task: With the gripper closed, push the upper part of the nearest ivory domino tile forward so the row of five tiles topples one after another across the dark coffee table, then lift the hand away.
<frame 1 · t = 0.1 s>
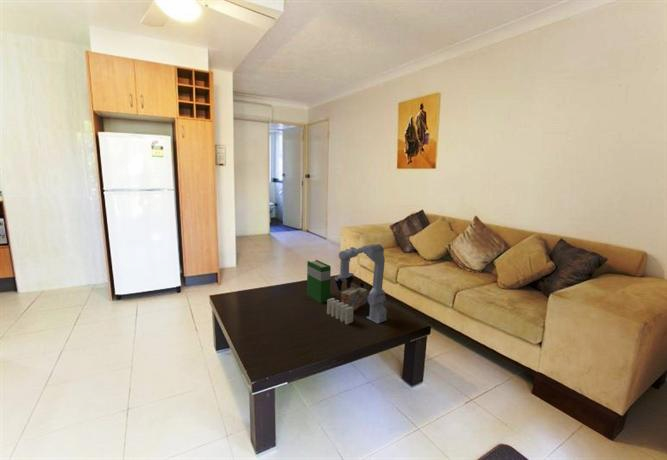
hand: (344, 288, 205), 10 cm above the table, fingers open, 7 cm apart
domino 2: (344, 320, 184), on the table
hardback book: (318, 297, 216), on the table
domino 5: (330, 313, 193), on the table
stack of blocks: (354, 307, 203), on the table
domino 3: (339, 317, 187), on the table
domino 4: (335, 315, 190), on the table
domino 1: (348, 322, 181), on the table
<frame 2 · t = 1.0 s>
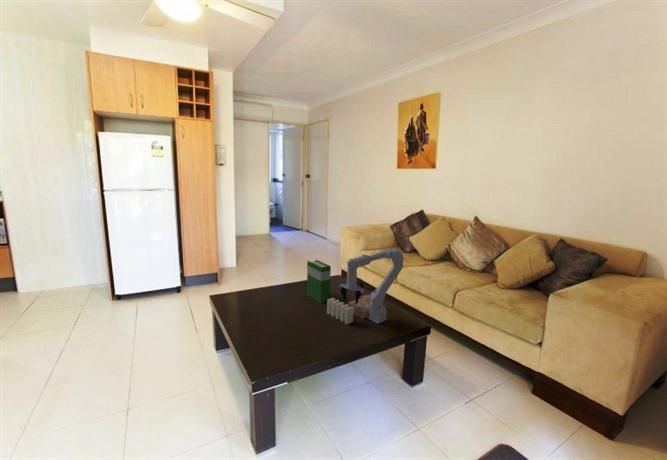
hand: (350, 301, 185), 10 cm above the table, fingers open, 7 cm apart
stack of blocks: (357, 302, 202), point 3 cm above the table
everything else where it was.
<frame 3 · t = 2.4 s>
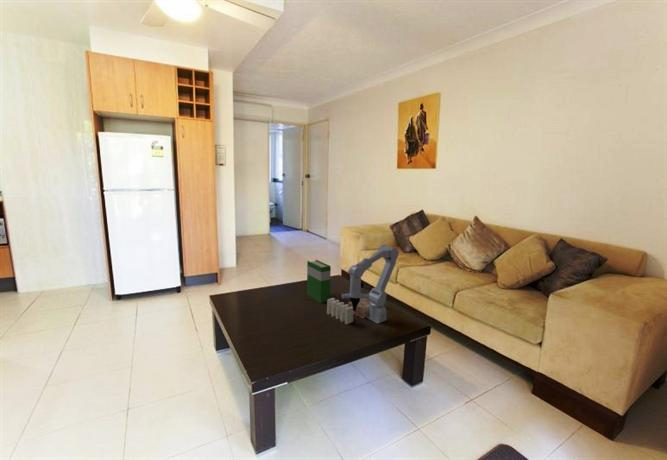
hand: (354, 310, 176), 9 cm above the table, fingers closed
nothing on the table moved.
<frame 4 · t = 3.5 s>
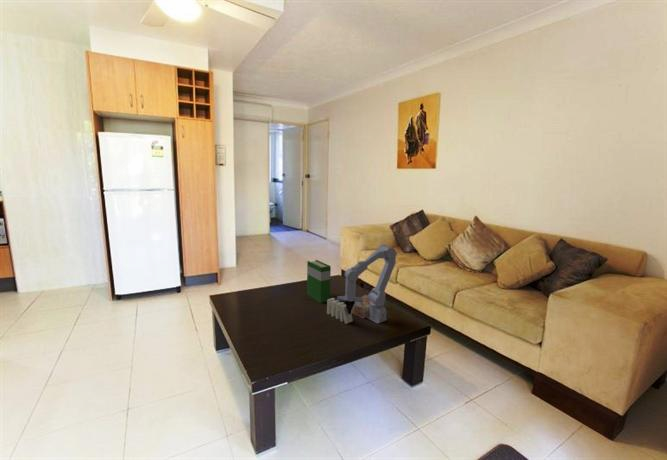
hand: (349, 313, 180), 6 cm above the table, fingers closed
domino 1: (348, 322, 181), on the table, tilted 17°, touching gripper
everything else where it was.
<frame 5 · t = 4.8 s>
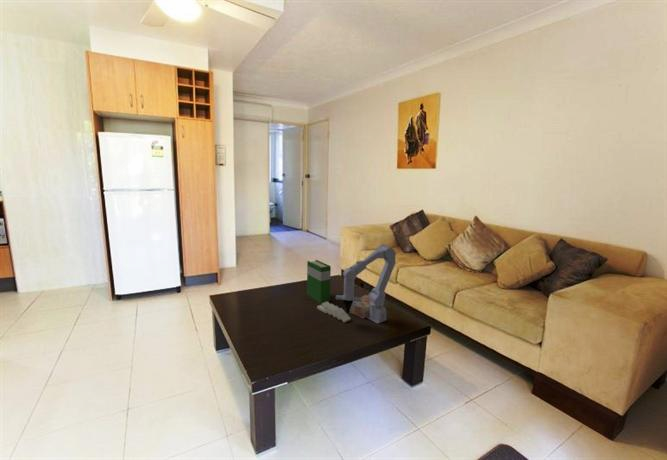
hand: (348, 312, 181), 6 cm above the table, fingers closed
domino 2: (342, 317, 185), point 1 cm above the table, tilted 67°, touching domino 1, domino 3
domino 5: (329, 311, 193), point 1 cm above the table, tilted 89°, touching domino 4
domino 3: (337, 315, 188), point 1 cm above the table, tilted 66°, touching domino 2, domino 4
domino 4: (333, 313, 191), point 1 cm above the table, tilted 66°, touching domino 3, domino 5
domino 1: (347, 320, 182), point 1 cm above the table, tilted 67°, touching domino 2
everything else where it was.
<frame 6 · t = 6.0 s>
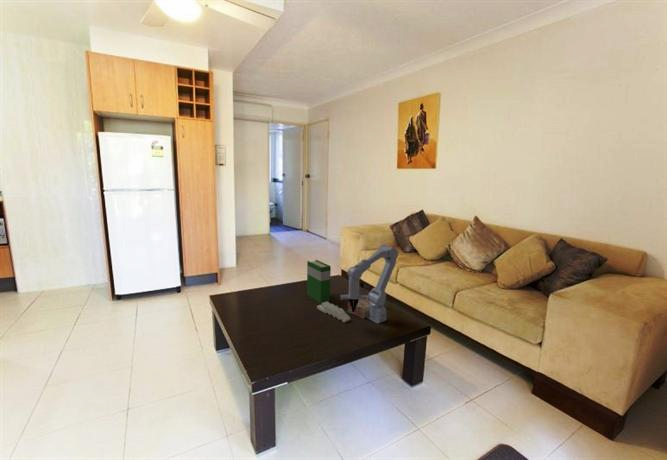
hand: (353, 311, 177), 8 cm above the table, fingers closed
domino 4: (333, 313, 191), point 1 cm above the table, tilted 66°, touching domino 3, domino 5
everything else where it was.
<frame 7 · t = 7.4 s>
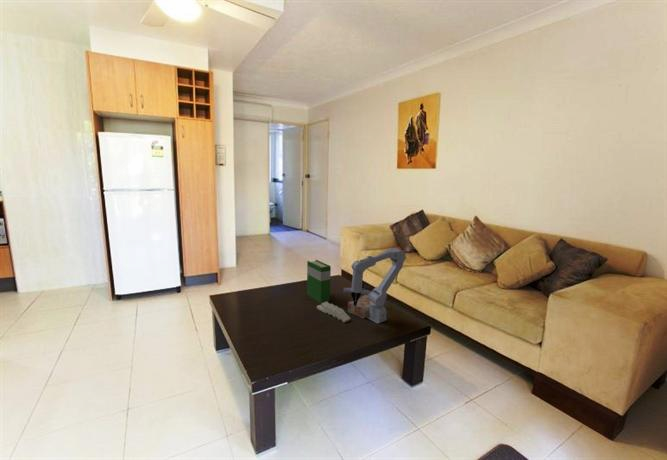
hand: (355, 305, 180), 10 cm above the table, fingers closed
domino 3: (337, 315, 188), point 1 cm above the table, tilted 66°, touching domino 2
domino 4: (332, 313, 191), point 1 cm above the table, tilted 67°, touching domino 5
everything else where it was.
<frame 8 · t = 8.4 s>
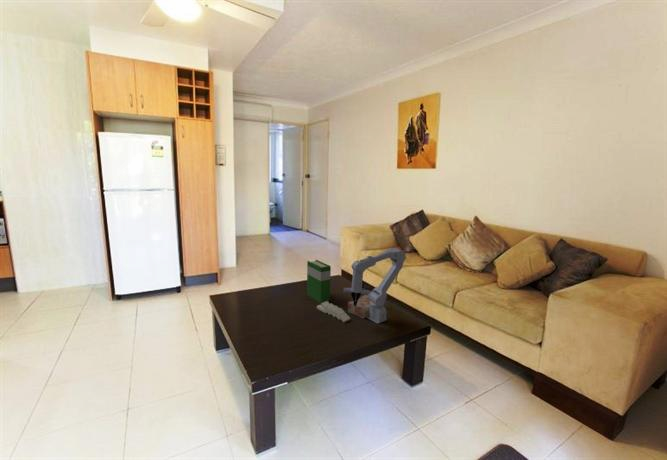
hand: (355, 305, 180), 10 cm above the table, fingers closed
domino 3: (337, 315, 188), point 1 cm above the table, tilted 66°, touching domino 2, domino 4
domino 4: (332, 313, 191), point 1 cm above the table, tilted 66°, touching domino 3, domino 5
everything else where it was.
at the end: domino 5 tilted 90°; domino 3 tilted 66° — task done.
